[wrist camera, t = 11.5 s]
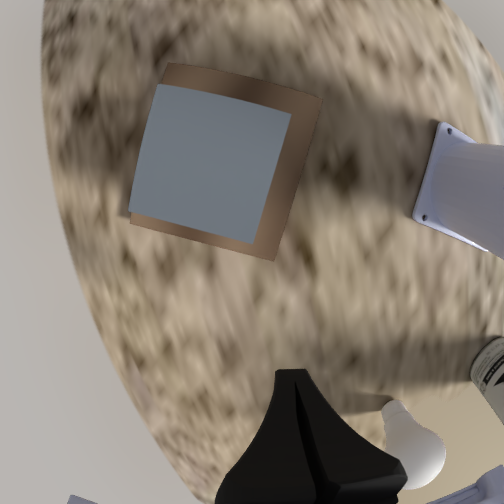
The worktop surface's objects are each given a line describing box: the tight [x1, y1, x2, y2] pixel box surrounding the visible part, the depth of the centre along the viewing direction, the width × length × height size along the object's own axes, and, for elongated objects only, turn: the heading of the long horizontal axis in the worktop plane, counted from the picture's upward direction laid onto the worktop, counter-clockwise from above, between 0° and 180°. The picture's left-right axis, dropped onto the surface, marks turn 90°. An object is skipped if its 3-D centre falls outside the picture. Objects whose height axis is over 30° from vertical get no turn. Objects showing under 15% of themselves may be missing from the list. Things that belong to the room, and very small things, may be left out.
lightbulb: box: [381, 400, 446, 489], centre depth 21 cm, size 6×6×11 cm
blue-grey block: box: [128, 84, 292, 244], centre depth 15 cm, size 6×6×7 cm
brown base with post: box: [130, 62, 323, 261], centre depth 16 cm, size 10×11×6 cm
